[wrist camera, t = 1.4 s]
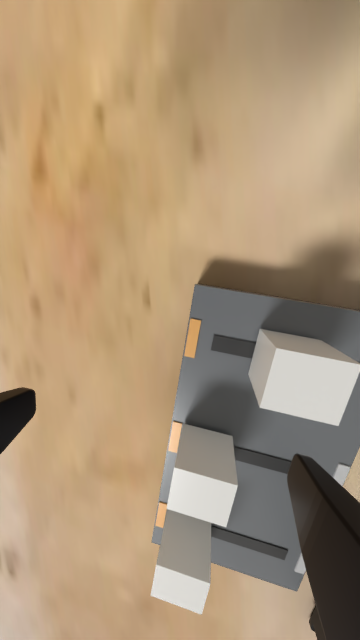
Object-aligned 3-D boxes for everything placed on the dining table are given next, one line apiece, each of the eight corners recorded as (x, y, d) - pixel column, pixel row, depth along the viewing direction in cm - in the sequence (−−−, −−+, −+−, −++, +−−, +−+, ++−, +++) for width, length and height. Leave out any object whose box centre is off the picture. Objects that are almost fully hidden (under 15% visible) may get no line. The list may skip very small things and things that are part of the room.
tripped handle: (320, 339, 14) (362, 365, 10) (305, 386, 14) (338, 426, 11) (259, 328, 14) (276, 348, 10) (248, 373, 15) (259, 407, 11)
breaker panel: (388, 314, 15) (416, 320, 13) (289, 562, 21) (297, 593, 19) (197, 283, 17) (194, 284, 15) (157, 519, 23) (151, 543, 20)
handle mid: (232, 436, 16) (237, 485, 12) (223, 470, 17) (226, 527, 13) (183, 423, 17) (174, 467, 13) (177, 457, 18) (166, 508, 14)
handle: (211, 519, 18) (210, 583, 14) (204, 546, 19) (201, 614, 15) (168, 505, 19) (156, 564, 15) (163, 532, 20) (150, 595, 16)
